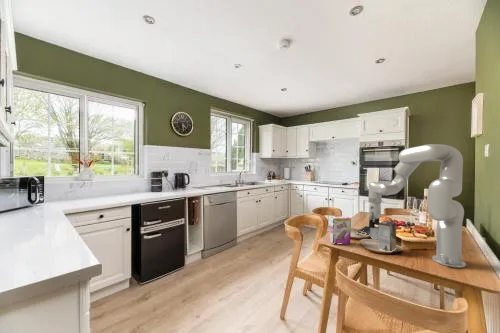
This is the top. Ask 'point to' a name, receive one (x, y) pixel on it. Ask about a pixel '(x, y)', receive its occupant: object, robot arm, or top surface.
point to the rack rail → (365, 230)
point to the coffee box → (387, 235)
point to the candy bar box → (340, 230)
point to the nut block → (374, 233)
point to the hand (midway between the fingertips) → (374, 226)
